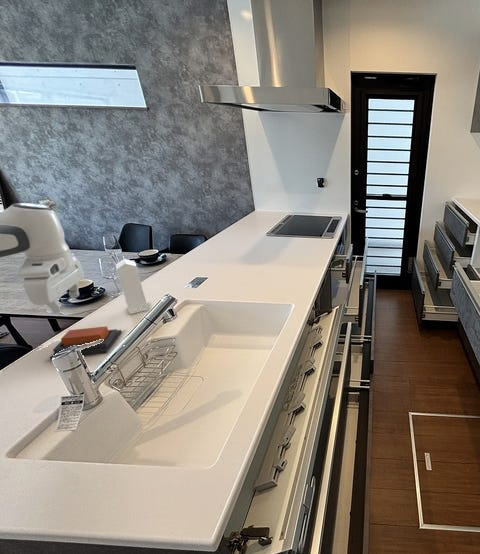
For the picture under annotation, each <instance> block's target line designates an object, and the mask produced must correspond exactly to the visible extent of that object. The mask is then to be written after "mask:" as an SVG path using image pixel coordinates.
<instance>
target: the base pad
mask: <svg viewBox="0 0 480 554" xmlns="http://www.w3.org/2000/svg"><path fill="white" fill-rule="evenodd" d="M108 331H109V336H108V337H107V338H106V339H105V341H104V342H102V343H100V344H97V345H95V346H91V347H89V348H85V349H83V350H81V353H82V355H83V356H82V357H86V356H92V355H93V356H94V355H100V354H107V353H108V352H109V350H110V349H111V348H112V346H113V345H114V344H115V342H116V341H117V339H118V338H119V337H120V335H121V334H122V330H121V329H117V328H115V329H108ZM68 347H70V346H66V347H64V345H63V343H62V340H61V341H60V342H59V343H58V344H56V346H55V347H54V348H53V349H52V352H53V353H52V354H51V355H50V356H49V358H50V361H53V360H52V357H53V355H55V354H56V353H58V352H59V351H61V350H63V349H66V348H68Z"/></svg>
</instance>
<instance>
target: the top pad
mask: <svg viewBox="0 0 480 554" xmlns="http://www.w3.org/2000/svg"><path fill="white" fill-rule="evenodd" d="M108 330H109V329H108V326H107V325H106V326H96V327H95V326H94V327H87V328H79V329H77V328H76V329H70V330H68V331H67V332H66V333H65V334H64V335H63V336H62V337H61V338H60V340H61V341H62V343H63V345H64V347H66V346H73V345H82V344H85V343H90V342H93V341H96V340H99V339H104V341H105V339H106V338H107V337H108V336H109V331H108ZM104 341H103V342H104Z"/></svg>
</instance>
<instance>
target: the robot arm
mask: <svg viewBox="0 0 480 554" xmlns="http://www.w3.org/2000/svg"><path fill="white" fill-rule="evenodd" d="M64 231H65V230H64V228H63V226H62V223H61V221H60V218H59V217H58V215H57V213H56V212H55V211H54V209H53V208H50V207H49V206H47V205H45V204H39V203H32V202H18V203H17V202H16V203H12V204H11V205H10V206H8V207H7V208H5V209H3V210H0V258H4V257H8V256H12V255H17V254H21V253H24V255H25V259H24V261H23V263H22V265H21V266H20V267H19V269H18V270H17V276H18V278H20V279H23V282H22V284H23V288H24V290H25V293H26V295H27V297H28V299H29V301H30V303H32V304H33V305H35V306H41V305H46V306H47V307H49V308H50V309H51V312H52V313H55V314H56V313H60V312H61V311H63V310H64V308H63V305H62V304H59V303H58V298H60V297H61V296H62V295H63V294H65V293H67V291H68V290H69V292H68V295H69V297H70V298H71V299H74V298H75V299H76V298H78V297H79V296H80V291H79V285H80V284H79V283H80V281H81V280H83V279H84V278H85V271H84V269H83V266H82V264H81V261H80V260H79V259H78V257H76V256H75V254H74V253H73V252H71V250H70V246H69V245H68V244H67V242H66V240H65V235H66V234H65V232H64Z"/></svg>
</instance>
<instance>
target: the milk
mask: <svg viewBox="0 0 480 554" xmlns="http://www.w3.org/2000/svg"><path fill="white" fill-rule="evenodd" d="M122 257H123V259H122V260H120V261H118V262H117V263H116V264H115V268H116V274H117V277H118V280H119V283H120V286H121V289H122V293H123V296H124V299H125V303H126V306H127V309H128V312H129V315H133V314H137V313H141V312H146V311H149V306H148V304H147V300H146V299H147V298H146V295H145V292H144V289H143V286H142V281H141V278H140V273H139V271H138V267H137V264H136V261H134V260H130V259H127V258H125V256H124V255H122ZM144 308H145V309H144ZM140 309H141V310H140Z"/></svg>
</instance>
